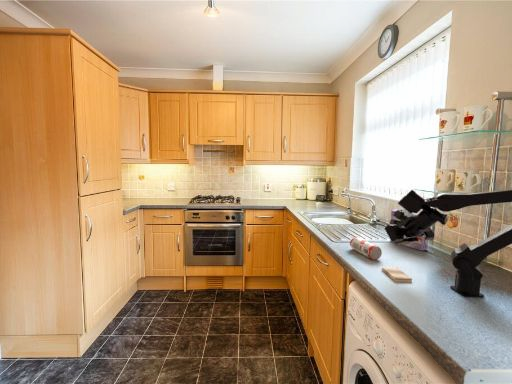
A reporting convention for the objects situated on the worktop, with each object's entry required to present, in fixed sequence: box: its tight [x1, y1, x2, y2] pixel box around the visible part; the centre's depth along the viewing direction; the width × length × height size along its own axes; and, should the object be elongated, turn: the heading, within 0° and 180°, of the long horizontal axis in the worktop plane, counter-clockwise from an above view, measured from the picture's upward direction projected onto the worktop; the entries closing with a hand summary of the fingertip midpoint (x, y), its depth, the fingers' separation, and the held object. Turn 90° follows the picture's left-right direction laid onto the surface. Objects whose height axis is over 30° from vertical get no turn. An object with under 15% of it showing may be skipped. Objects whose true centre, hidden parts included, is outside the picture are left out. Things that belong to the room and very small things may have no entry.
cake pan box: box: [388, 209, 429, 251], centre depth 135 cm, size 19×5×18 cm, turn 23°
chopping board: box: [381, 266, 413, 283], centre depth 99 cm, size 10×6×1 cm, turn 179°
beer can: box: [349, 237, 383, 261], centre depth 121 cm, size 6×6×16 cm
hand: (395, 243), depth 104 cm, fingers closed
